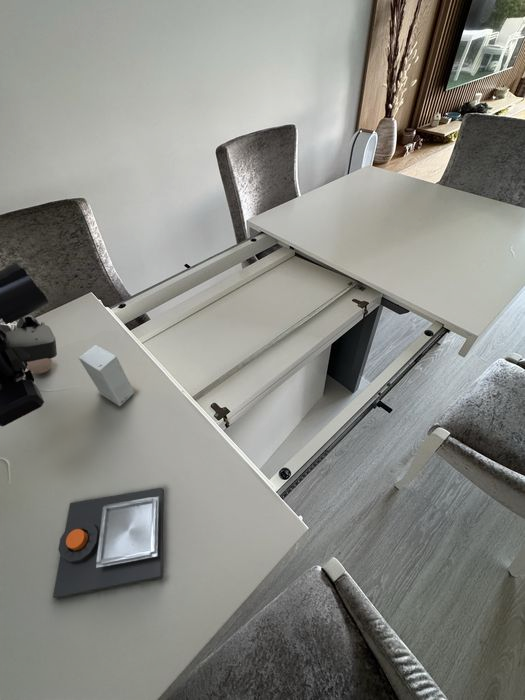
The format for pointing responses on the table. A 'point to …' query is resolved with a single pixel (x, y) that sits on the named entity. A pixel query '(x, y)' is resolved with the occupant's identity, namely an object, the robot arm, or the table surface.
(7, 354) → the robot arm
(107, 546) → the brushed steel platform
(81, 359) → the cosmetic box
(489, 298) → the table surface
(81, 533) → the button
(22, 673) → the table surface
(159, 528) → the scale
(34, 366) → the egg
